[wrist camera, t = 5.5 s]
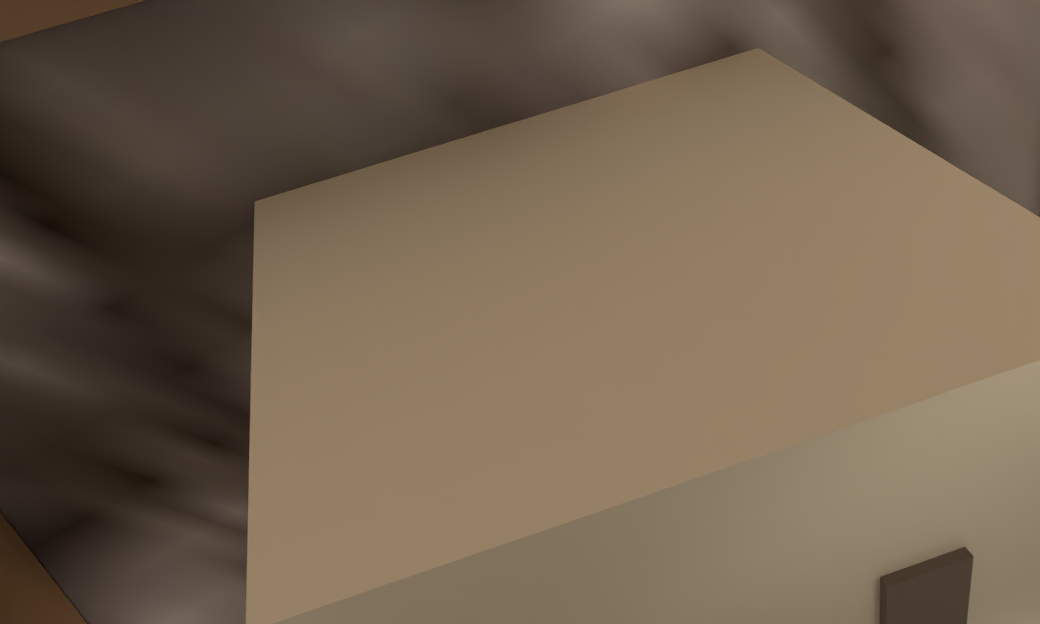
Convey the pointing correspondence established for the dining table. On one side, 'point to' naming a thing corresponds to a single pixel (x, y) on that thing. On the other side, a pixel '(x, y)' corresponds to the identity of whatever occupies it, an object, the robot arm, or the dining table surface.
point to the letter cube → (649, 374)
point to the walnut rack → (3, 555)
